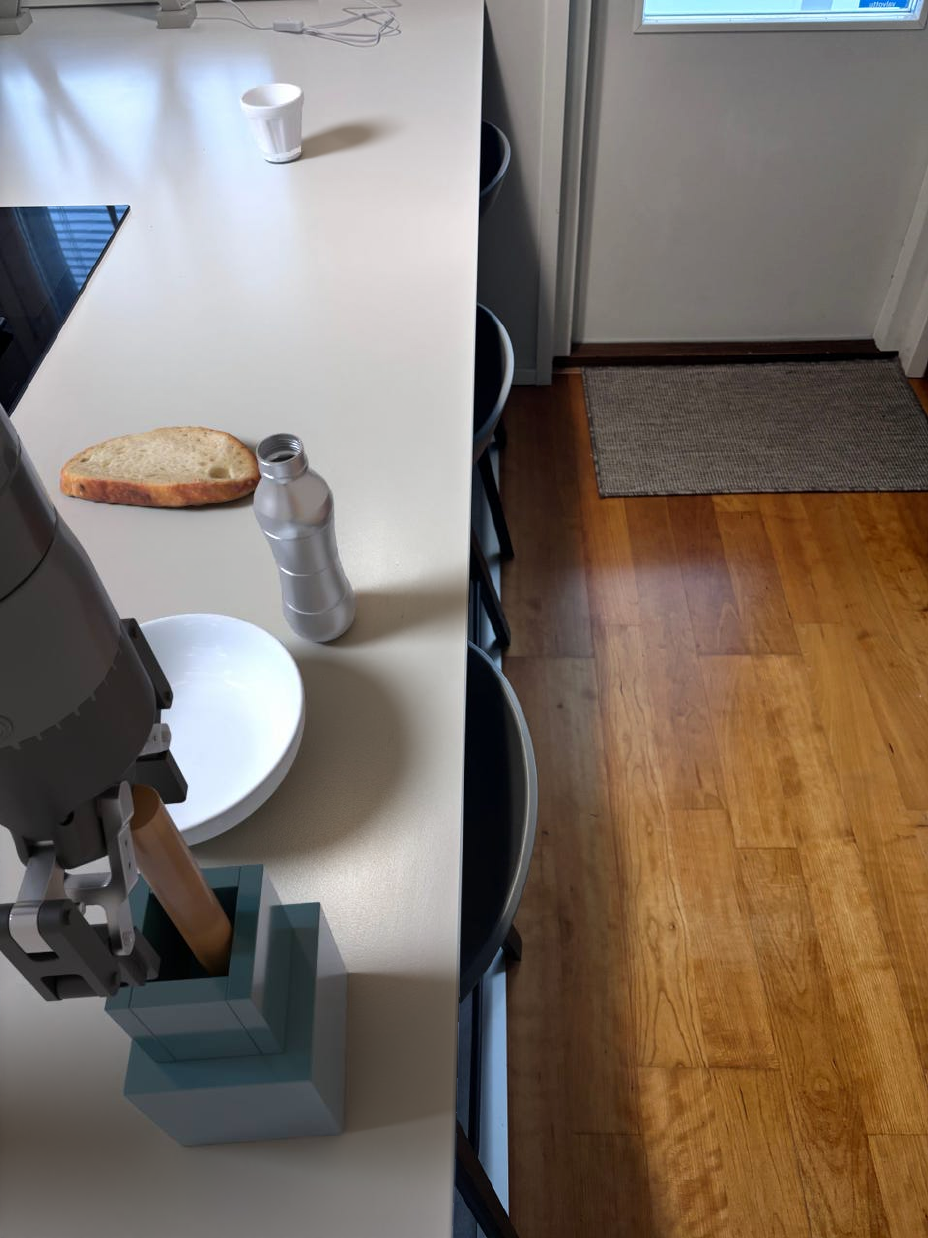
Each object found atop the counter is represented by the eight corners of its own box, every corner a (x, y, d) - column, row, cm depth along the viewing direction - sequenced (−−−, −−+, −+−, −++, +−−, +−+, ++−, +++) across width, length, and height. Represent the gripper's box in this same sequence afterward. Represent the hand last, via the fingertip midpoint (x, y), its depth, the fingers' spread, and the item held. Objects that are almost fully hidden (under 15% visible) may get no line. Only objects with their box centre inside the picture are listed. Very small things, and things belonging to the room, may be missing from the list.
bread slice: (50, 480, 102) (36, 452, 99) (197, 409, 109) (188, 381, 106) (125, 567, 92) (112, 539, 89) (281, 483, 99) (273, 454, 97)
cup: (323, 158, 153) (313, 96, 146) (266, 175, 150) (253, 112, 143) (299, 137, 159) (288, 77, 152) (243, 153, 156) (229, 92, 149)
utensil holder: (180, 1147, 58) (64, 1046, 44) (201, 983, 65) (107, 849, 50) (343, 1134, 58) (280, 1029, 44) (347, 972, 65) (294, 835, 50)
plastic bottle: (347, 588, 89) (309, 411, 74) (369, 638, 84) (333, 462, 69) (280, 609, 87) (227, 433, 72) (299, 661, 83) (246, 486, 68)
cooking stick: (216, 1001, 53) (93, 821, 38) (238, 965, 54) (126, 777, 39) (250, 1016, 52) (138, 839, 37) (271, 979, 53) (170, 793, 38)
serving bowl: (342, 669, 82) (329, 616, 77) (283, 895, 69) (263, 850, 63) (115, 655, 85) (88, 603, 80) (15, 871, 71) (-26, 825, 66)
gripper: (-48, 512, 35) (101, 754, 48) (-207, 861, 26) (30, 1052, 38) (151, 496, 35) (250, 742, 48) (66, 840, 26) (216, 1038, 38)
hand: (152, 880), depth 43 cm, fingers open, 8 cm apart
